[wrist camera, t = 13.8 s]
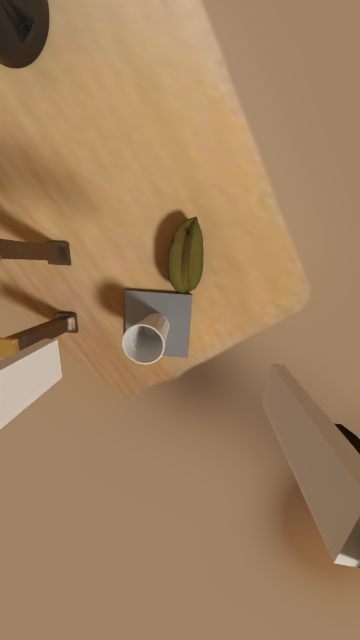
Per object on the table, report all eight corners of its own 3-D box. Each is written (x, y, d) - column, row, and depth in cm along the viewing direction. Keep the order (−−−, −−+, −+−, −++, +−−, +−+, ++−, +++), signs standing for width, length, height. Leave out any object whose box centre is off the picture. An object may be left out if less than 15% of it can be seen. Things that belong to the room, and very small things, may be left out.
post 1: (48, 241, 44) (-37, 229, 28) (68, 242, 44) (-7, 230, 28) (51, 264, 46) (-29, 263, 30) (71, 265, 45) (1, 265, 29)
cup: (136, 333, 47) (116, 354, 36) (146, 304, 45) (129, 317, 33) (165, 345, 47) (155, 370, 36) (177, 317, 45) (170, 334, 34)
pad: (126, 289, 46) (124, 290, 45) (192, 294, 45) (192, 295, 43) (127, 350, 50) (126, 352, 49) (187, 355, 49) (187, 357, 48)
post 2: (58, 312, 49) (-11, 334, 33) (76, 313, 49) (16, 337, 33) (60, 330, 51) (-4, 360, 35) (78, 331, 50) (21, 363, 34)
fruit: (152, 256, 43) (144, 254, 37) (194, 218, 40) (194, 210, 34) (183, 295, 45) (181, 300, 39) (226, 262, 42) (230, 262, 36)
